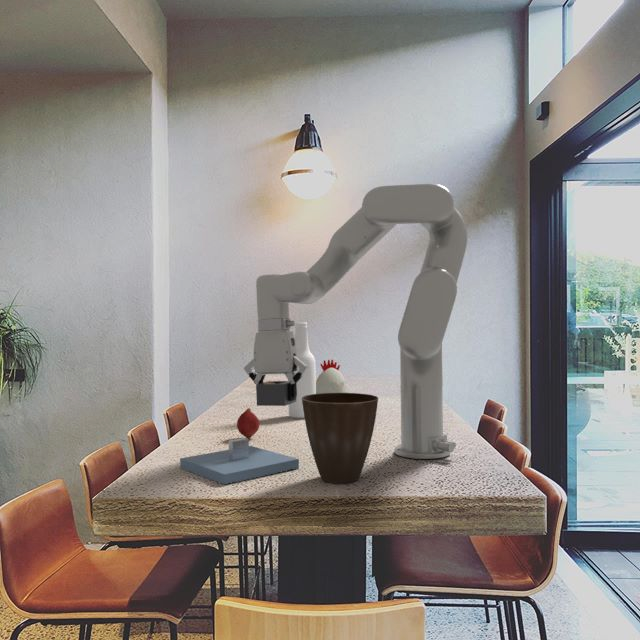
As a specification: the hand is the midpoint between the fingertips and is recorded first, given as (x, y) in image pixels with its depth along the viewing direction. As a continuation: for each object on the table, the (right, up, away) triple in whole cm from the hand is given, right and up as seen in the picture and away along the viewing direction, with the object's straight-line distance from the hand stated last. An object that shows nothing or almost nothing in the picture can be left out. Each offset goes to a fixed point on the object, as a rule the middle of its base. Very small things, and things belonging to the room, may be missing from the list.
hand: (276, 399), depth 145 cm
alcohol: (+5, -12, +48) cm, 50 cm away
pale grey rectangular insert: (-7, -10, -17) cm, 21 cm away
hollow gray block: (0, -1, 0) cm, 1 cm away
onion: (-8, -12, +14) cm, 21 cm away
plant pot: (+15, -12, -27) cm, 33 cm away
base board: (-7, -12, -17) cm, 22 cm away
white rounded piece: (+15, -12, +92) cm, 94 cm away
